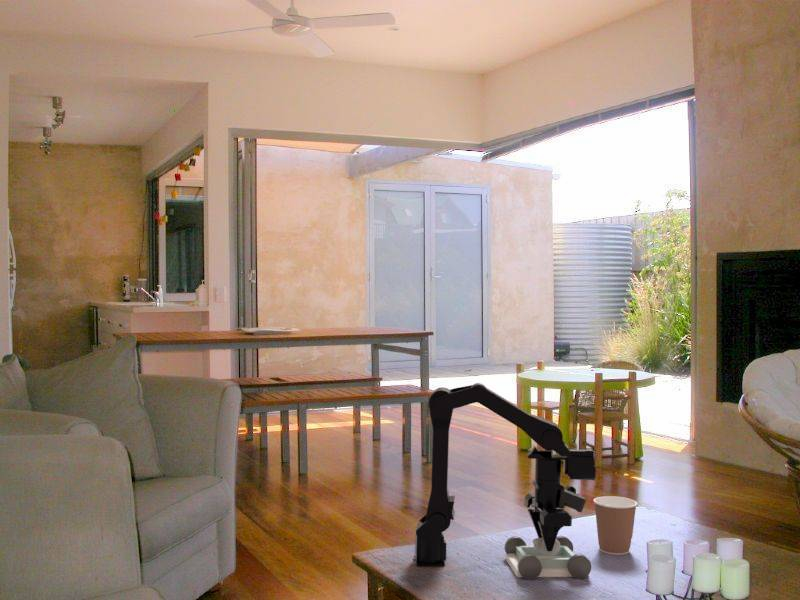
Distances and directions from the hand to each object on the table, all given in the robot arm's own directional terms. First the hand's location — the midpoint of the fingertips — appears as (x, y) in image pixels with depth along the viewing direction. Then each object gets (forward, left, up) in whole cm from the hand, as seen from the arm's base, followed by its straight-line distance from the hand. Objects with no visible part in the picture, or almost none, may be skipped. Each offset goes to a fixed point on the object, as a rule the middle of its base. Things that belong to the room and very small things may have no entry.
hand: (546, 547), depth 193 cm
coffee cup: (+20, +12, -5) cm, 24 cm away
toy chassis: (0, 0, -5) cm, 5 cm away
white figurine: (0, 0, -2) cm, 2 cm away
